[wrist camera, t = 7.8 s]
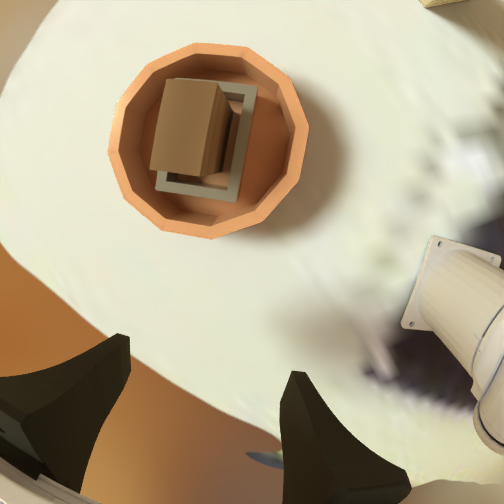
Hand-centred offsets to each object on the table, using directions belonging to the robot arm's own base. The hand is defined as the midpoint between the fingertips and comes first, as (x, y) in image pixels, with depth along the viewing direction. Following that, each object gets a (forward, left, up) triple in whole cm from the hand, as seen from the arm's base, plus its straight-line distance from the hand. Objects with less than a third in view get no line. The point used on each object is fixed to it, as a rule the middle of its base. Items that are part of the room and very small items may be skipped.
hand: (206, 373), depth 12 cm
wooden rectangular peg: (+3, -10, -9) cm, 14 cm away
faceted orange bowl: (+3, -10, -10) cm, 14 cm away
